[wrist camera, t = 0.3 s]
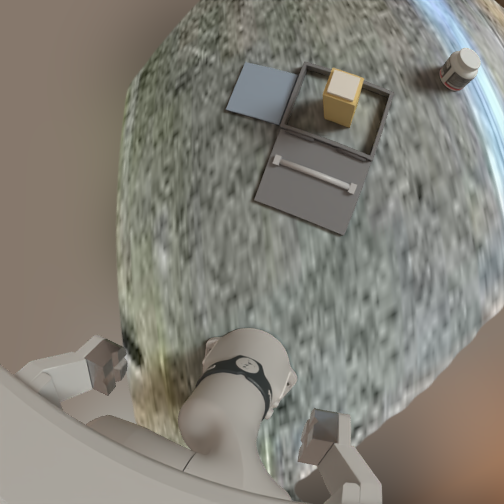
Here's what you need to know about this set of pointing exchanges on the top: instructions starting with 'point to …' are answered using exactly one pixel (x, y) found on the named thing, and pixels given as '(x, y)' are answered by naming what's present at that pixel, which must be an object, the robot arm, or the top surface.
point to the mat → (262, 93)
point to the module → (341, 97)
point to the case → (316, 169)
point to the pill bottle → (460, 69)
